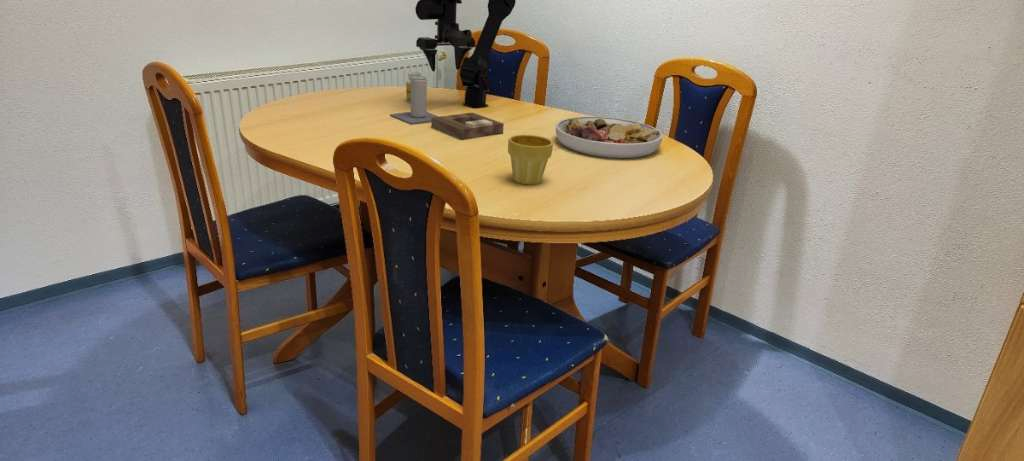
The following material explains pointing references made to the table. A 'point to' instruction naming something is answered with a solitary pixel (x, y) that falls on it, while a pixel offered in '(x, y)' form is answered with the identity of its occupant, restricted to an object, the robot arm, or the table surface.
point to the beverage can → (418, 96)
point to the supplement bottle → (408, 85)
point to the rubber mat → (411, 120)
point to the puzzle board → (467, 125)
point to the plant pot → (529, 157)
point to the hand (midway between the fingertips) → (445, 70)
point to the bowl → (608, 137)
